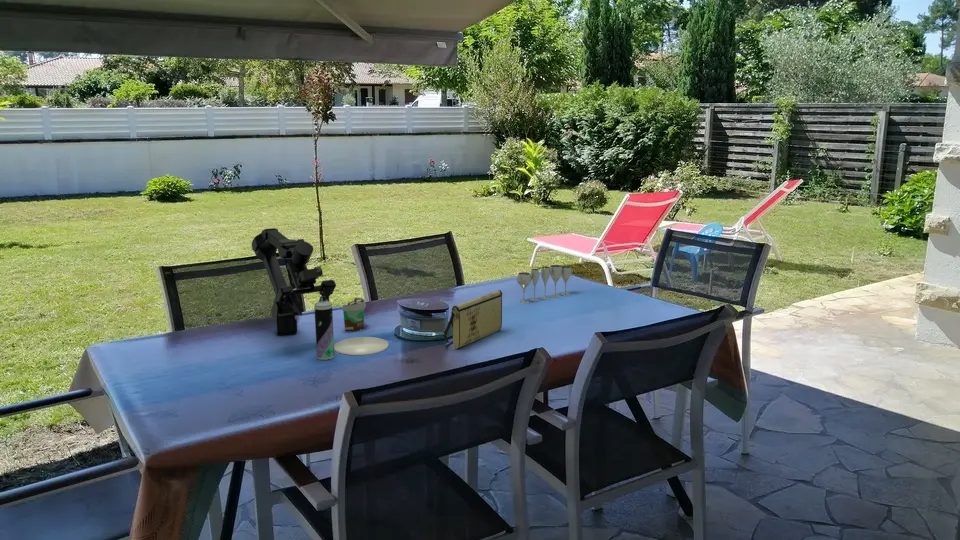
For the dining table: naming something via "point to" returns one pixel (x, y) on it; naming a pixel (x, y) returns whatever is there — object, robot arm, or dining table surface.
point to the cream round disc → (361, 346)
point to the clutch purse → (475, 319)
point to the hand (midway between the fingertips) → (315, 312)
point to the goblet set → (544, 278)
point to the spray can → (324, 329)
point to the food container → (354, 314)
